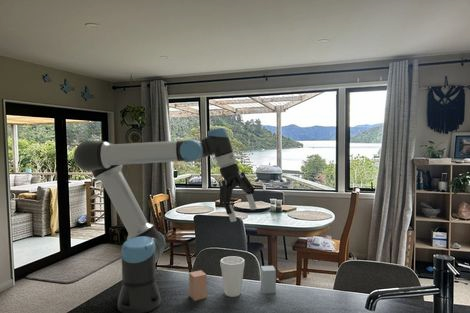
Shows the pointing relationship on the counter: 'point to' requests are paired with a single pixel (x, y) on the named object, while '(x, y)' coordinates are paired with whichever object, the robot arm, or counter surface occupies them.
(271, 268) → the slate block
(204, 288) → the terracotta block
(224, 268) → the foam cup
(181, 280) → the counter surface
